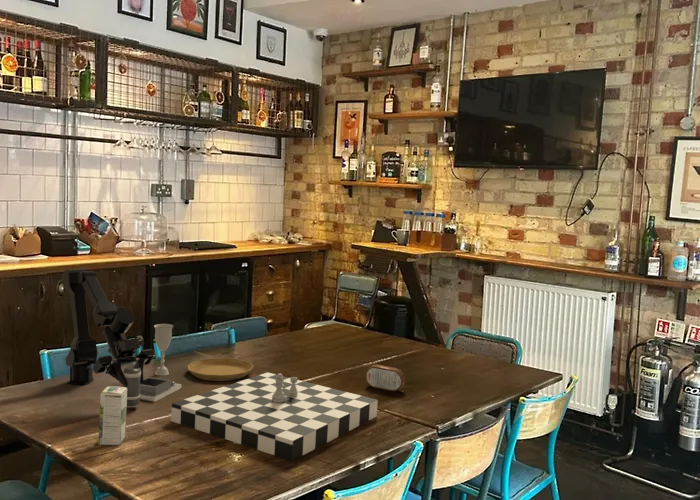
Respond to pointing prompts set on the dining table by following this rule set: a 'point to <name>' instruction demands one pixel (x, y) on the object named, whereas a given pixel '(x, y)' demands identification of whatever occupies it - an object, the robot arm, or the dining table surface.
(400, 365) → the dining table surface
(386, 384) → the tin
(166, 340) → the chalice
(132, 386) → the grey rounded cylinder
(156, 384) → the white base plate
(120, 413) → the syrup box
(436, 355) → the dining table surface
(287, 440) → the checkerboard
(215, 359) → the plant saucer
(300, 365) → the dining table surface
